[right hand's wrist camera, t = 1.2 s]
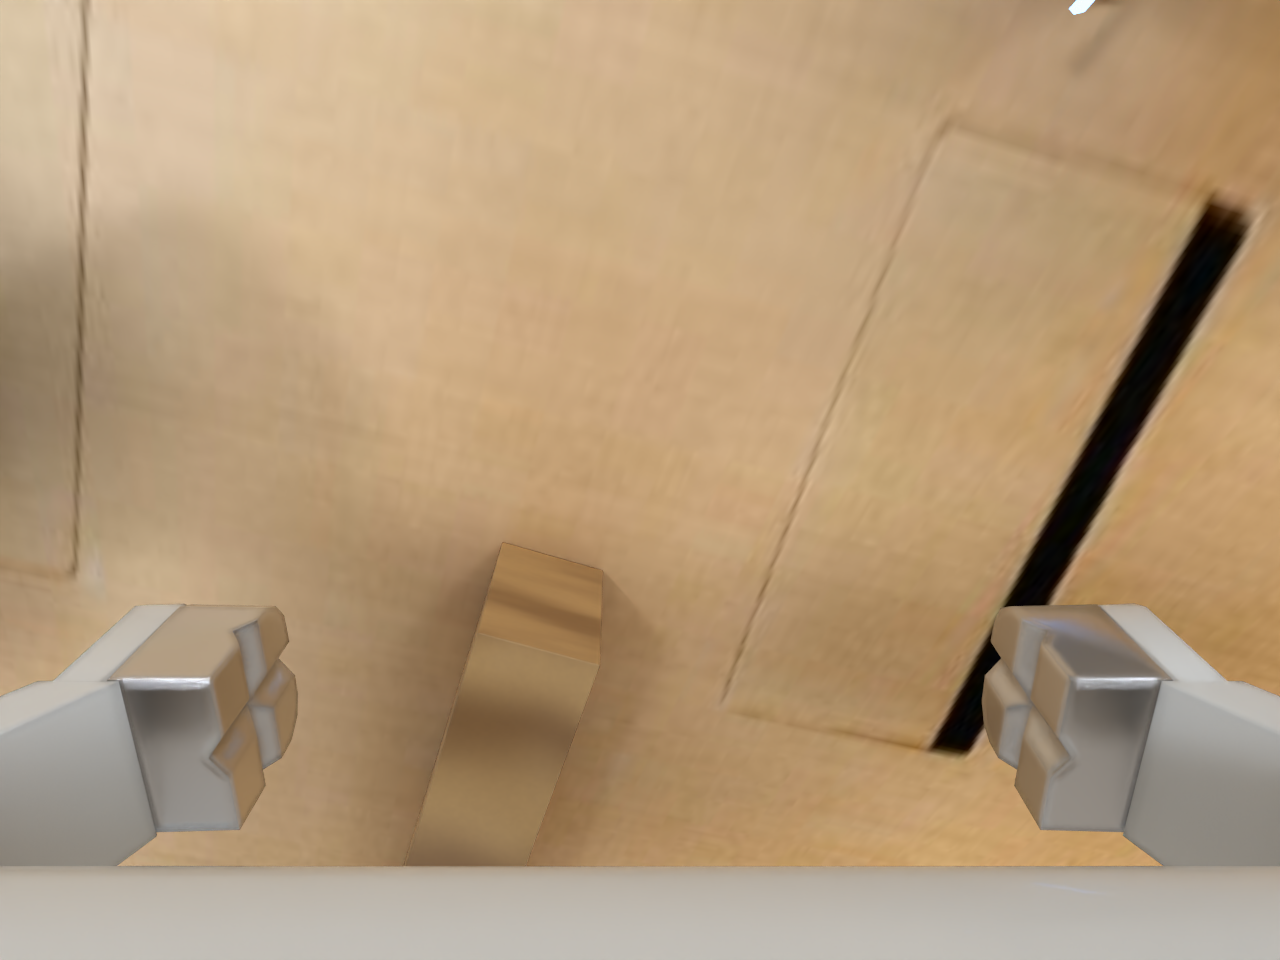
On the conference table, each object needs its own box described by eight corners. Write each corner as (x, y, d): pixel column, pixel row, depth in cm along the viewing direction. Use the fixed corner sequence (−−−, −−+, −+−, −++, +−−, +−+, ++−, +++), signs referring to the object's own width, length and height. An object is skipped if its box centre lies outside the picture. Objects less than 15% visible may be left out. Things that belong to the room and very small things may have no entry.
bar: (502, 541, 46) (477, 632, 38) (603, 570, 47) (600, 665, 38) (391, 904, 55) (351, 1042, 47) (477, 923, 56) (453, 1062, 47)
